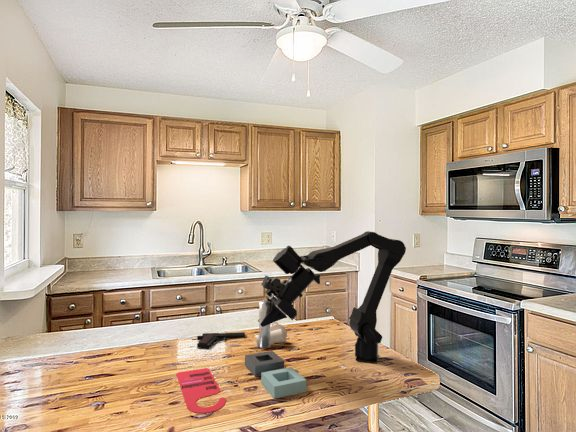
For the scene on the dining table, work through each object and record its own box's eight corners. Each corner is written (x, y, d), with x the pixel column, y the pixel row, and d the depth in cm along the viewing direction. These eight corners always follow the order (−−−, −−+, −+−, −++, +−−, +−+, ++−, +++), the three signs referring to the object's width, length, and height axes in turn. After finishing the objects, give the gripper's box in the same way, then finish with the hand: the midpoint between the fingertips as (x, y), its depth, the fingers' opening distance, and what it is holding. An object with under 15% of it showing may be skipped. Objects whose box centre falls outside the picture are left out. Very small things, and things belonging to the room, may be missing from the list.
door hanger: (208, 367, 114) (230, 407, 91) (208, 369, 114) (230, 409, 91) (175, 372, 110) (189, 415, 87) (175, 374, 110) (189, 418, 87)
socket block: (272, 360, 120) (272, 350, 120) (284, 371, 112) (284, 360, 112) (244, 365, 116) (244, 355, 116) (255, 376, 108) (255, 366, 108)
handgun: (248, 343, 132) (244, 330, 144) (197, 344, 128) (197, 332, 140) (248, 349, 132) (244, 337, 144) (196, 351, 128) (196, 338, 140)
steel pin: (271, 344, 114) (271, 301, 114) (267, 348, 111) (267, 303, 111) (261, 343, 115) (261, 300, 115) (257, 347, 112) (257, 302, 112)
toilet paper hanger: (290, 344, 131) (285, 324, 132) (259, 352, 130) (254, 332, 130) (285, 332, 152) (281, 315, 152) (258, 339, 151) (254, 322, 151)
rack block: (291, 377, 107) (291, 367, 107) (306, 391, 99) (306, 380, 99) (261, 383, 104) (261, 372, 104) (274, 398, 95) (274, 386, 95)
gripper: (271, 262, 123) (236, 298, 120) (285, 271, 105) (245, 314, 102) (295, 285, 125) (261, 321, 122) (313, 298, 107) (274, 341, 104)
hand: (260, 323), depth 113 cm, fingers closed on steel pin, 3 cm apart
